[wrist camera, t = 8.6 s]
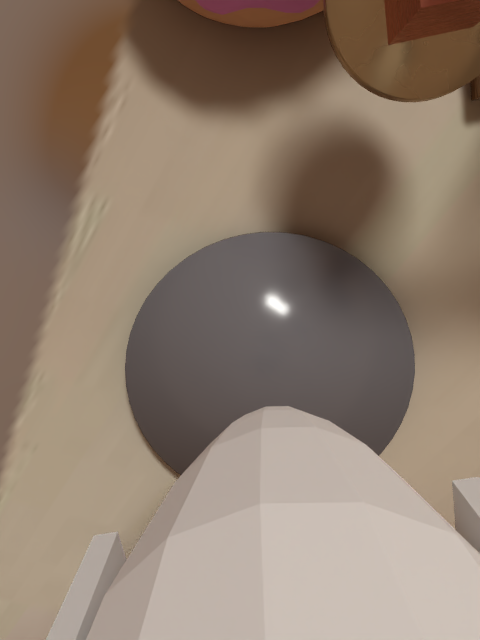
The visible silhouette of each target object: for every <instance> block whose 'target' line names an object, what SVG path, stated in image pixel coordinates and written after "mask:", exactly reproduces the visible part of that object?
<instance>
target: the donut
mask: <svg viewBox="0 0 480 640" xmlns="http://www.w3.org/2000/svg"><path fill="white" fill-rule="evenodd" d="M177 1H179V2H180V3H182V4H183V5H184V6H186V7H187V8H189V9H191V10H192V11H194V12H196V13H198V14H200V15H202V16H204V17H206V18H209V19H211V20H215V21H218V22H222V23H225V24H230V25H236V26H242V27H274V26H278V25H282V24H287V23H291V22H295V21H300V20H303V19H305V18H307V17H309V16H312V15H314V14H316V13H318V12H321V11H323V10H324V6H323V0H177Z"/></svg>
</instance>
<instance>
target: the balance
mask: <svg viewBox="0 0 480 640" xmlns="http://www.w3.org/2000/svg"><path fill="white" fill-rule="evenodd" d="M323 6H324V19H325V24H326V30H327V34H328V37H329V40H330V43H331V46H332V48H333V50H334V52H335V55H336V57H337V58H338V60H339V62H340V63H341V65H342V66H343V68H344V69H345V70H346V71H347V73H348V74H349V75H350V76H351V77H352V78H353V79H354V80H355V81H356V82H357V83H358V84H359V85H361V86H362V87H364V88H365V89H367V90H368V91H370V92H372V93H374V94H376V95H378V96H380V97H383V98H386V99H389V100H393V101H400V102H421V101H428V100H432V99H435V98H439V97H442V96H444V95H446V94H449V93H451V92H453V91H455V90H457V89H459V88H460V87H462V86H464V85H465V84H467V83H469V82H471V100H472V101H473V100H478V99H480V0H323Z"/></svg>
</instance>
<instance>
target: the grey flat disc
mask: <svg viewBox="0 0 480 640" xmlns="http://www.w3.org/2000/svg"><path fill="white" fill-rule="evenodd" d="M125 374H126V387H127V392H128V397H129V402H130V405H131V408H132V411H133V414H134V417H135V419H136V421H137V423H138V425H139V427H140V429H141V431H142V433H143V435H144V436H145V438H146V439H147V441H148V442H149V444H150V445H151V447H152V448H153V449H154V450H155V451H156V453H157V454H158V455H159V456H160V457H161V458H162V459H163V460H164V461H165V462H166V463H167V464H168V465H169V466H170V467H171V468H173V469H174V470H175V471H176V472H177V473H179V474H180V475H182V474H183V473H184V472H185V470H186V469H187V468H188V467H189V466H190V465H191V464H192V463H193V462H194V461H195V460H196V458H197V457H198V456H199V455H200V454H201V453H202V452H203V451H204V450H205V449H206V447H207V446H208V445H209V444H210V443H211V442H212V441H213V440H214V439H216V438H217V437H218V436H219V435H220V434H221V433H222V432H223V431H224V430H225V429H226V428H227V427H228V426H229V425H230V424H231V423H232V422H234V421H236V420H237V419H239V418H241V417H242V416H244V415H246V414H248V413H251V412H253V411H256V410H258V409H261V408H263V407H266V406H289V407H292V408H295V409H298V410H301V411H303V412H306V413H309V414H312V415H314V416H317V417H320V418H323V419H325V420H328V421H330V422H332V423H333V424H335V425H336V426H338V427H339V428H341V429H343V430H344V431H346V432H347V433H349V434H350V435H352V436H353V437H355V438H356V439H358V440H359V441H361V442H363V443H364V444H366V445H367V446H368V447H369V448H370V449H371V450H372V451H374V452H375V453H376V454H377V455H378V456H379V455H380V454H381V453H382V452H383V450H384V449H385V448H386V446H387V445H388V444H389V442H390V441H391V440H392V439H393V437H394V435H395V433H396V432H397V430H398V428H399V426H400V425H401V423H402V420H403V418H404V416H405V413H406V411H407V408H408V405H409V402H410V398H411V394H412V390H413V382H414V374H415V362H414V349H413V343H412V337H411V334H410V331H409V327H408V324H407V321H406V318H405V316H404V314H403V312H402V310H401V308H400V306H399V304H398V302H397V301H396V299H395V298H394V296H393V295H392V293H391V292H390V290H389V289H388V287H387V286H386V285H385V284H384V283H383V282H382V281H381V279H380V278H379V277H378V276H377V275H376V274H375V273H374V272H373V271H372V270H371V269H369V268H368V267H367V266H366V265H365V264H363V263H362V262H361V261H360V260H358V259H357V258H355V257H353V256H352V255H350V254H349V253H347V252H345V251H344V250H342V249H340V248H338V247H335V246H333V245H331V244H329V243H326V242H324V241H322V240H318V239H315V238H311V237H308V236H304V235H299V234H292V233H285V232H258V233H250V234H242V235H238V236H235V237H231V238H227V239H223V240H221V241H218V242H216V243H213V244H211V245H208V246H206V247H204V248H202V249H201V250H199V251H197V252H195V253H194V254H192V255H190V256H188V257H187V258H186V259H184V260H183V261H182V262H180V263H179V264H178V265H177V266H175V267H174V268H173V269H172V270H170V271H169V272H168V273H167V274H166V276H165V277H164V278H163V279H162V280H161V281H160V282H159V283H158V284H157V285H156V286H155V288H154V289H153V290H152V292H151V293H150V294H149V296H148V297H147V298H146V300H145V302H144V304H143V305H142V307H141V309H140V311H139V313H138V315H137V317H136V319H135V322H134V325H133V327H132V330H131V333H130V337H129V342H128V346H127V351H126V363H125Z"/></svg>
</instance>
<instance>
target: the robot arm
mask: <svg viewBox="0 0 480 640" xmlns="http://www.w3.org/2000/svg"><path fill="white" fill-rule="evenodd" d="M452 486H453V500H454V514H455V527H456V531H457V532H458V533H459V534H460V535H461V536H462V537H463V538H464V539H465V540H466V541H467V542H468V543H469V544H470V545H471V546H472V547H473V548H475V549H476V550H477V551H478V552H479V553H480V478H479V477H474V478H467V479H461V480H454V481H452ZM125 562H126V557H125V553H124V550H123V547H122V544H121V541H120V537H119V534H118V532H113V533H106V534H100V535H94V536H93V538H92V541H91V543H90V545H89V547H88V549H87V551H86V554H85V556H84V558H83V560H82V562H81V565H80V567H79V569H78V571H77V573H76V575H75V578H74V580H73V582H72V584H71V586H70V588H69V591H68V593H67V595H66V597H65V599H64V601H63V604H62V606H61V608H60V610H59V612H58V614H57V617H56V619H55V621H54V623H53V625H52V627H51V630H50V632H49V634H48V636H47V638H46V640H86V638H87V636H88V633H89V631H90V629H91V626H92V624H93V622H94V619H95V617H96V614H97V612H98V610H99V607H100V605H101V603H102V600H103V598H104V595H105V594H106V592H107V591H108V589H109V587H110V586H111V584H112V583H113V581H114V579H115V578H116V576H117V575H118V573H119V571H120V570H121V568H122V566H123V565H124V563H125Z"/></svg>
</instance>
